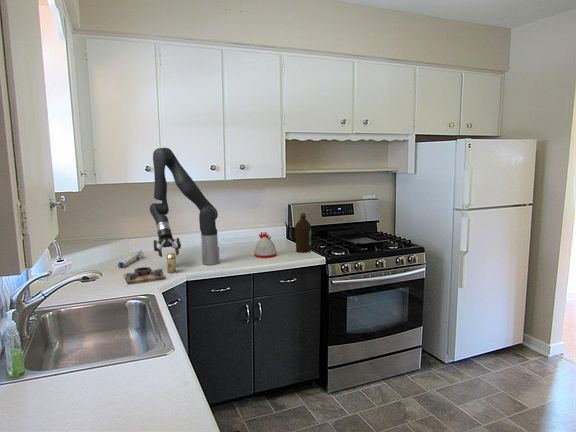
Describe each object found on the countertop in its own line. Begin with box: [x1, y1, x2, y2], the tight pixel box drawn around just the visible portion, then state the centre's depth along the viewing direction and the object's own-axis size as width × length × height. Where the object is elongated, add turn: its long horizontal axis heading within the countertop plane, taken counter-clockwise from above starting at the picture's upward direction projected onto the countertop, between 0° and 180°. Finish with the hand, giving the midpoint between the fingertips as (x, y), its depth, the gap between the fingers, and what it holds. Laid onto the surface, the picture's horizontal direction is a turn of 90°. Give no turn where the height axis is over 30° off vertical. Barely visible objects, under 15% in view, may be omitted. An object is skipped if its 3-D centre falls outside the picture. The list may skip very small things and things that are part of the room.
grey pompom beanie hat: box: [253, 231, 277, 259], centre depth 259 cm, size 14×14×15 cm
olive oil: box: [294, 212, 312, 254], centre depth 268 cm, size 11×11×25 cm
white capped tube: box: [117, 248, 145, 269], centre depth 246 cm, size 5×7×25 cm
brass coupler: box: [166, 252, 177, 274], centre depth 223 cm, size 5×5×10 cm
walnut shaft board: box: [123, 269, 166, 286], centre depth 213 cm, size 18×16×2 cm
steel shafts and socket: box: [126, 266, 164, 280], centre depth 213 cm, size 18×13×3 cm
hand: (169, 255), depth 225 cm, fingers open, 8 cm apart
